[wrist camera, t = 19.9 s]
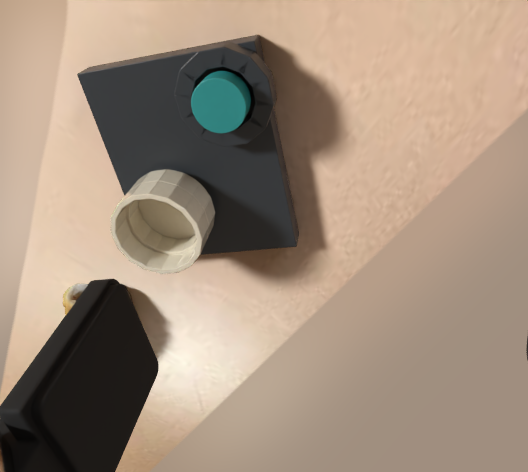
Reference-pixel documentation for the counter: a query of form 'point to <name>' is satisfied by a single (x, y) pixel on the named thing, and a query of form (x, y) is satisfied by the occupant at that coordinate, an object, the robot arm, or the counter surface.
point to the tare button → (221, 102)
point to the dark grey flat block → (200, 138)
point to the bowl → (163, 221)
